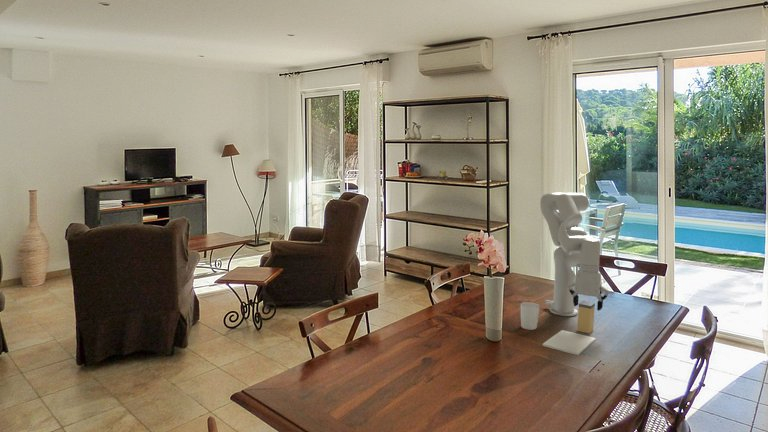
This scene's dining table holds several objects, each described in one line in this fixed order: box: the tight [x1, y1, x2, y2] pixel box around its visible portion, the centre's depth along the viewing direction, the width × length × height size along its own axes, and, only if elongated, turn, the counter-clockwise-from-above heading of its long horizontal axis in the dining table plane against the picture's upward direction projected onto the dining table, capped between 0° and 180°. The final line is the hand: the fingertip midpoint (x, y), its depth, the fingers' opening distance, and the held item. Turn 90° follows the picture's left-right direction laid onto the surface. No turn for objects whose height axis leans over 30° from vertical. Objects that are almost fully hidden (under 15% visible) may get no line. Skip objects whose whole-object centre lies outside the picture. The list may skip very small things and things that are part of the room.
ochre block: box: [576, 300, 596, 334], centre depth 218 cm, size 5×5×12 cm
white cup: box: [520, 301, 540, 331], centre depth 222 cm, size 8×8×10 cm
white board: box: [542, 329, 597, 356], centre depth 206 cm, size 14×20×1 cm
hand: (587, 307), depth 217 cm, fingers open, 9 cm apart
